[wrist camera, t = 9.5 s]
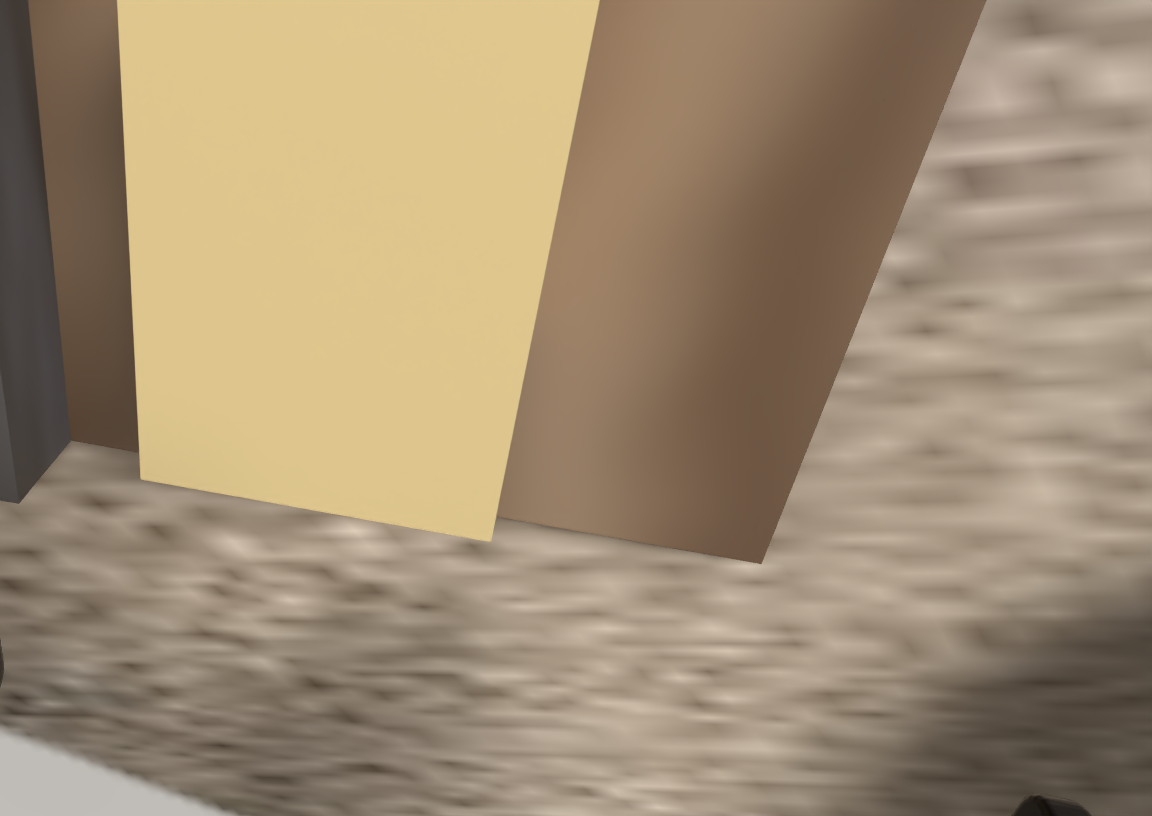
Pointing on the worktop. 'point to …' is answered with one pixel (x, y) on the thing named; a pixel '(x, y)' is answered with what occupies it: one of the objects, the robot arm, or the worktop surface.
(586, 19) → the ochre carton
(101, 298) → the shelf board
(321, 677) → the worktop surface
